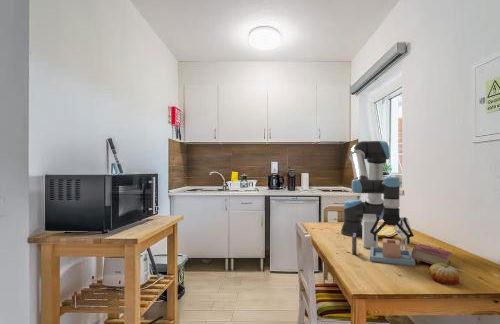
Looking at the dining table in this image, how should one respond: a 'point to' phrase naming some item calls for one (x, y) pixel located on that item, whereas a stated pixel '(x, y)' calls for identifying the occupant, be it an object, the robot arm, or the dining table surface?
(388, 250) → the pink window frame
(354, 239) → the grey t-shaped piece
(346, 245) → the dining table surface
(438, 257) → the book
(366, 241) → the milk carton
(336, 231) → the dining table surface
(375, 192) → the robot arm
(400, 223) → the wineglass
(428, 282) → the dining table surface
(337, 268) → the dining table surface
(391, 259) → the tray
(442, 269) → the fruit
